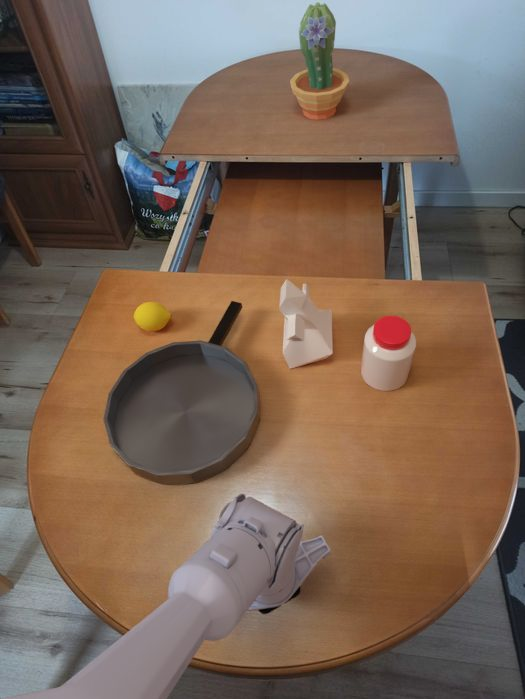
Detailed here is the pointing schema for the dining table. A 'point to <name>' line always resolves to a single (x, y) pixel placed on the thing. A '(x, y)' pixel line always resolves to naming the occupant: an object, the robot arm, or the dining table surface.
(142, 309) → the lemon
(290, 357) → the white angular piece
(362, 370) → the pill bottle
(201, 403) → the pan
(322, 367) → the dining table surface
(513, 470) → the dining table surface
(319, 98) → the potted cactus
